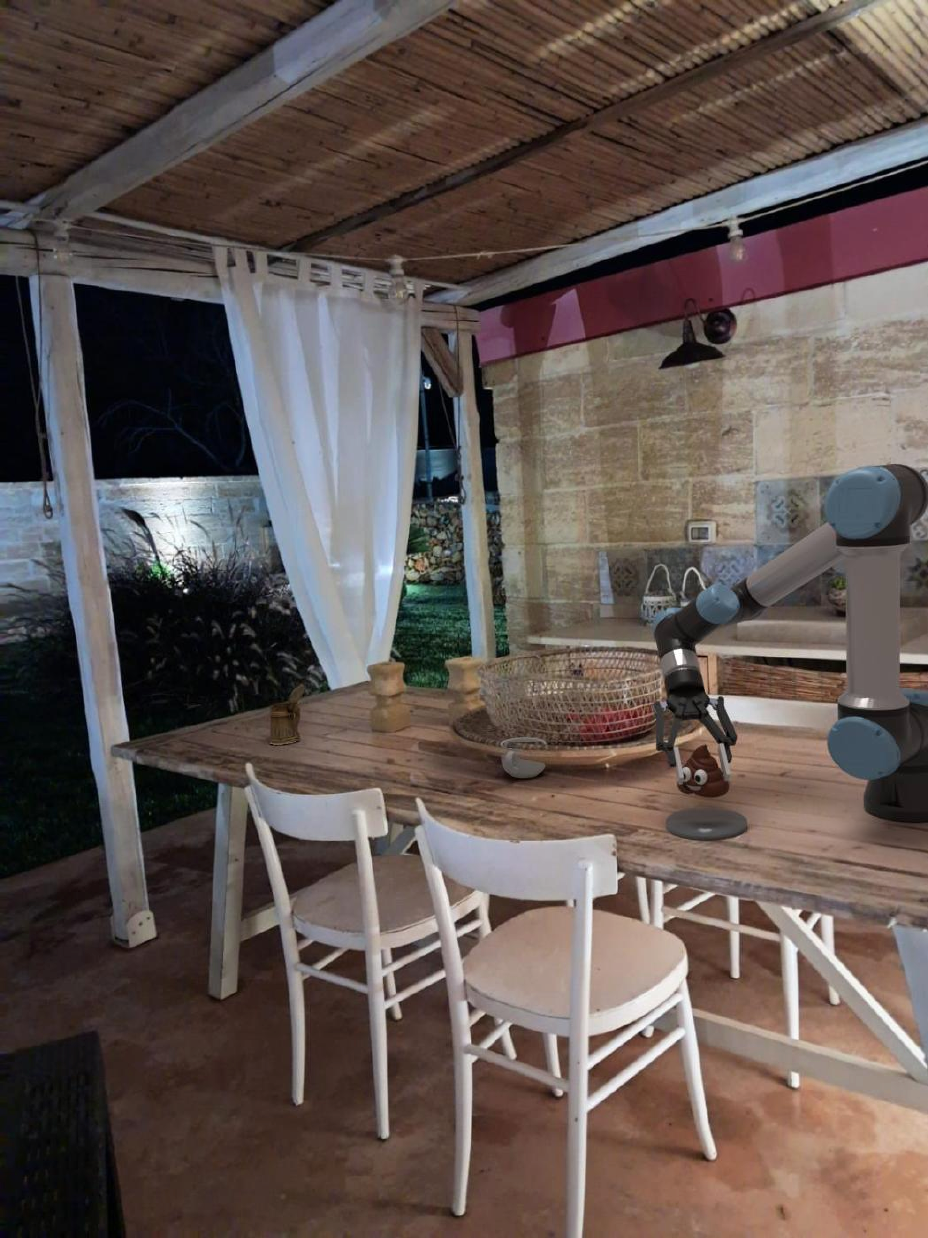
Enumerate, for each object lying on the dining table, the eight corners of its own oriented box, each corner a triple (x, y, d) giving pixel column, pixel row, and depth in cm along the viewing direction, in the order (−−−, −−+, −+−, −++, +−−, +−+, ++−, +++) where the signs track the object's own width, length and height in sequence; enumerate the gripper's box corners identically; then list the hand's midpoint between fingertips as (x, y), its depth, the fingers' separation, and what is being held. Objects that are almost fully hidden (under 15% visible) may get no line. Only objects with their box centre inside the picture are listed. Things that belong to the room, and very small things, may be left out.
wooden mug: (299, 747, 266) (291, 686, 263) (263, 745, 272) (256, 685, 270) (318, 739, 273) (311, 679, 271) (283, 737, 280) (276, 679, 278)
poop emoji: (737, 789, 175) (735, 742, 174) (714, 803, 169) (712, 753, 168) (691, 781, 182) (688, 735, 181) (667, 794, 177) (665, 746, 175)
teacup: (520, 766, 227) (518, 734, 226) (557, 771, 220) (554, 738, 219) (485, 782, 216) (482, 749, 215) (523, 788, 209) (520, 753, 208)
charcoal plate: (735, 809, 183) (735, 805, 183) (756, 837, 168) (756, 831, 168) (659, 815, 184) (659, 810, 184) (673, 843, 169) (673, 838, 169)
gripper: (731, 683, 188) (757, 784, 174) (629, 691, 189) (646, 792, 175) (737, 662, 182) (764, 765, 168) (631, 671, 183) (649, 774, 169)
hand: (704, 779), depth 172 cm, fingers closed on poop emoji, 8 cm apart
